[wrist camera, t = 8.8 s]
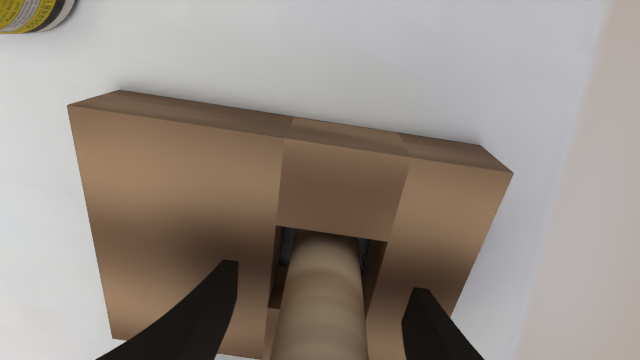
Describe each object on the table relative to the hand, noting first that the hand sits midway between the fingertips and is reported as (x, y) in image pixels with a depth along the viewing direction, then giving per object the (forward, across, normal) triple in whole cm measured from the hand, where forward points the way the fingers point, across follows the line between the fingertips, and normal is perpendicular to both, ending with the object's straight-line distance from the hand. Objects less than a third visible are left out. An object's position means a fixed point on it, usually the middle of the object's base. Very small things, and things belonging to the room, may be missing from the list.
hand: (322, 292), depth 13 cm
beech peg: (+4, 0, 0) cm, 4 cm away
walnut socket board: (+4, +2, 0) cm, 4 cm away
